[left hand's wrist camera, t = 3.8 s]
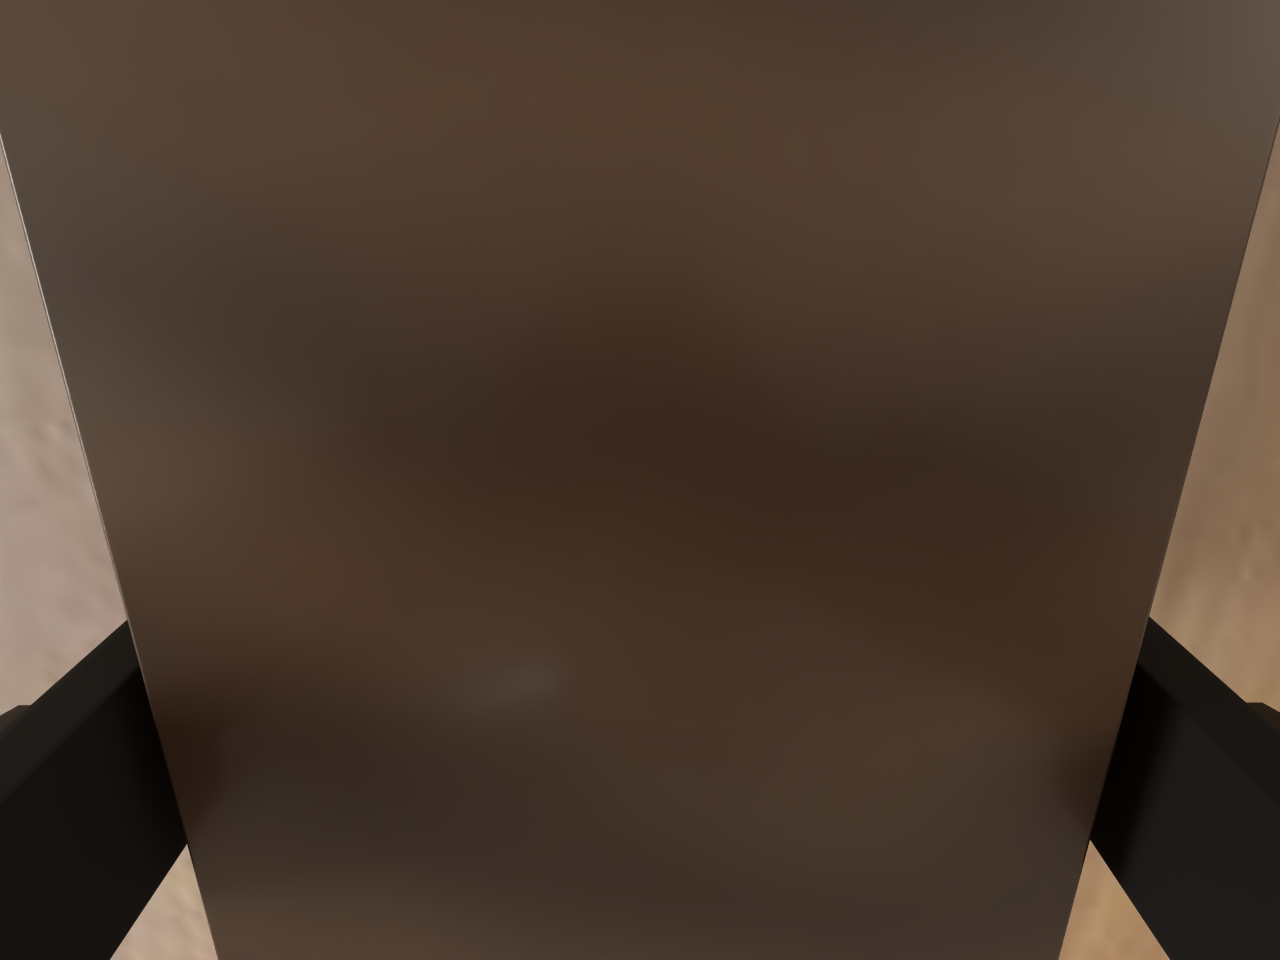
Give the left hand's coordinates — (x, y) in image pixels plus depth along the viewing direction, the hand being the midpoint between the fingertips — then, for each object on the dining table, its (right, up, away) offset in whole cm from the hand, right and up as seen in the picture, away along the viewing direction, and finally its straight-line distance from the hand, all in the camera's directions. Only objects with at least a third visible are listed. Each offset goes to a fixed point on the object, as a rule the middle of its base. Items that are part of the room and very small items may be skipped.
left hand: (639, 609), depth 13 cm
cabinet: (0, +7, +3) cm, 7 cm away
